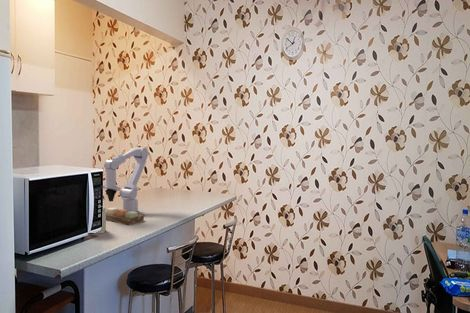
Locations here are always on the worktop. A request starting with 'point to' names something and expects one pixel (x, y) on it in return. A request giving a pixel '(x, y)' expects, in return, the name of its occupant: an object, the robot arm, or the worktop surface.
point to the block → (131, 214)
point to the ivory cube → (111, 210)
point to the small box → (103, 221)
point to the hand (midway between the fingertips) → (111, 201)
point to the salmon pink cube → (121, 212)
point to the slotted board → (124, 219)
